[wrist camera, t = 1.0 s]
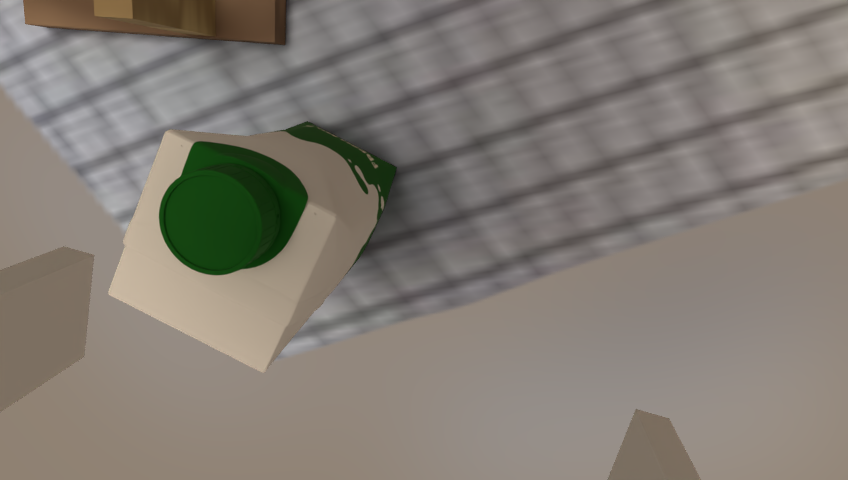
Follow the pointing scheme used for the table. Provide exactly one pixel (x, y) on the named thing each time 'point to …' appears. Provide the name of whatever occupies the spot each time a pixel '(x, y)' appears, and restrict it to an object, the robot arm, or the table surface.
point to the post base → (229, 19)
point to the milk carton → (249, 234)
